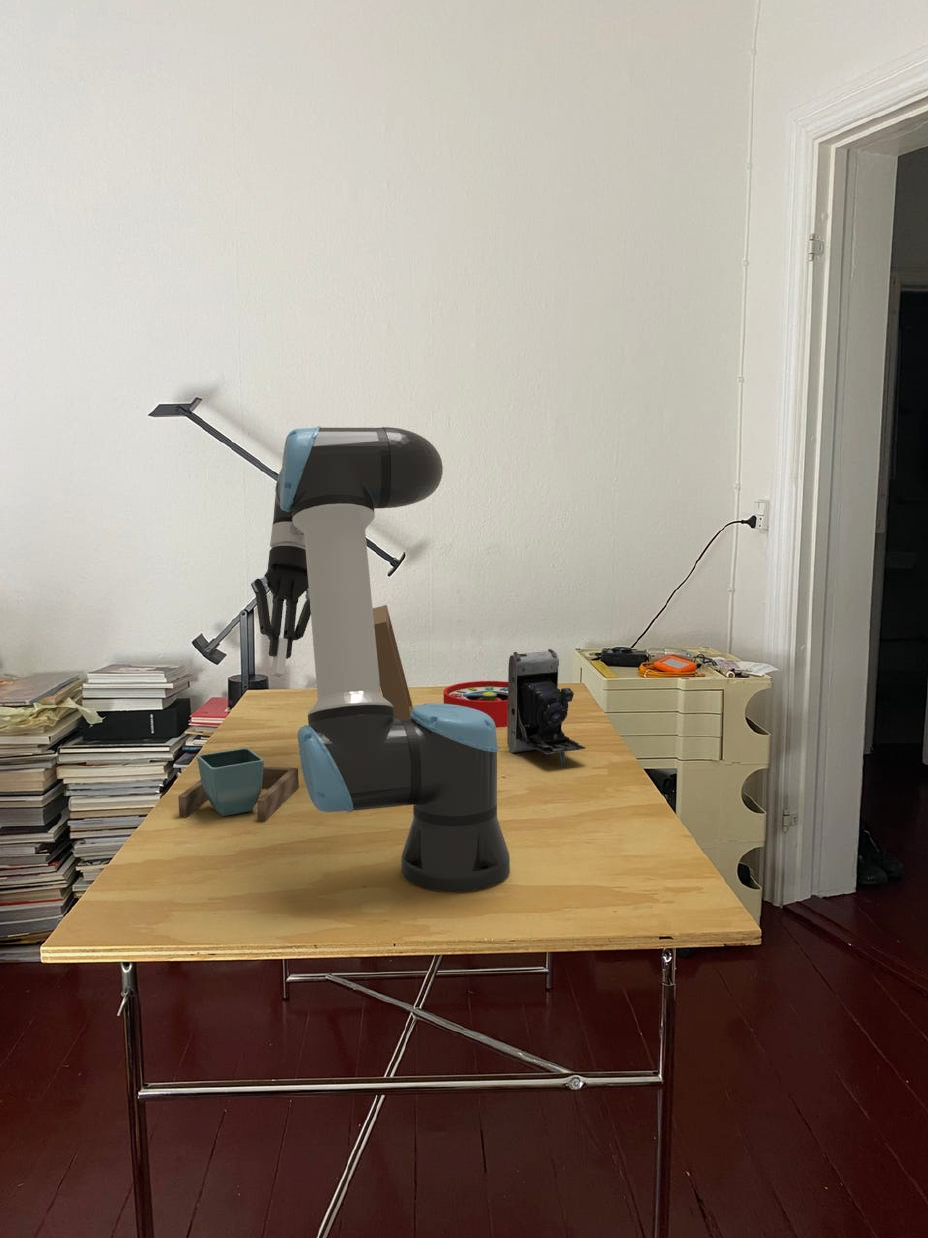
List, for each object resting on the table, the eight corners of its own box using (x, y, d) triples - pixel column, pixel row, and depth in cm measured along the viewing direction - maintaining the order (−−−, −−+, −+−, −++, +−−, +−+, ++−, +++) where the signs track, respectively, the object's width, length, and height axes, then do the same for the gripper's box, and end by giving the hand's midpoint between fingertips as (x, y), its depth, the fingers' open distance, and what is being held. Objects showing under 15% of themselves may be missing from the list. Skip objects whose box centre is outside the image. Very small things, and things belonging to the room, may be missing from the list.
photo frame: (414, 717, 233) (412, 604, 229) (417, 745, 211) (415, 621, 207) (346, 719, 232) (343, 605, 228) (342, 747, 210) (338, 622, 206)
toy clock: (536, 701, 223) (440, 701, 223) (536, 729, 224) (441, 728, 224) (533, 680, 242) (445, 680, 243) (533, 705, 243) (446, 705, 244)
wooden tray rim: (264, 821, 169) (264, 800, 168) (179, 817, 171) (178, 796, 171) (298, 787, 186) (298, 768, 185) (220, 783, 188) (219, 764, 187)
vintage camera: (542, 774, 193) (546, 668, 190) (504, 750, 207) (507, 650, 203) (588, 769, 197) (593, 664, 193) (548, 744, 211) (552, 646, 207)
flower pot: (198, 807, 176) (195, 754, 175) (249, 798, 180) (247, 746, 179) (213, 823, 168) (211, 768, 167) (267, 813, 173) (265, 760, 171)
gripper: (263, 537, 190) (249, 665, 184) (330, 552, 196) (319, 677, 190) (249, 549, 197) (236, 673, 190) (315, 563, 203) (304, 684, 196)
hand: (277, 675), depth 190 cm, fingers closed
